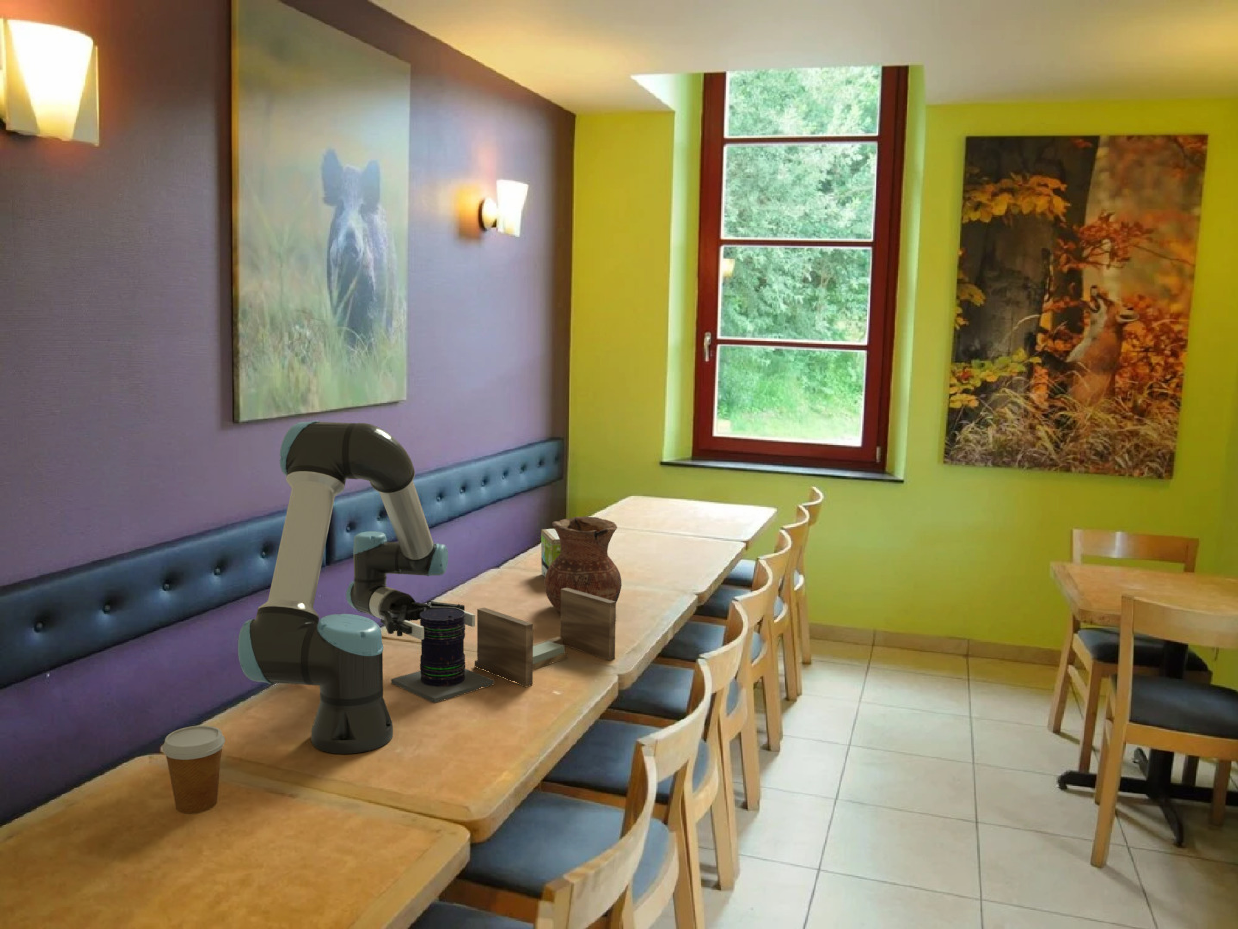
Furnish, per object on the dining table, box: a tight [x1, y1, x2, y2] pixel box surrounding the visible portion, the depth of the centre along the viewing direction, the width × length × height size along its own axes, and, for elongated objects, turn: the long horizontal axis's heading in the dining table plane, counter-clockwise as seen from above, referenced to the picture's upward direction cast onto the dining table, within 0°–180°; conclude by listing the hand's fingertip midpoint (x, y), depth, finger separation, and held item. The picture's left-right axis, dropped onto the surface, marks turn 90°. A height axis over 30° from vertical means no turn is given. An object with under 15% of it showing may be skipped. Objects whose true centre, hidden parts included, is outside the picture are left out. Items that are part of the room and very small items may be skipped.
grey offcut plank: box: [533, 641, 566, 664], centre depth 244 cm, size 11×5×2 cm, turn 141°
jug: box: [543, 516, 622, 613], centre depth 284 cm, size 22×21×25 cm
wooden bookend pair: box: [474, 588, 617, 687], centre depth 242 cm, size 28×18×14 cm, turn 136°
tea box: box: [540, 528, 561, 577], centre depth 319 cm, size 15×10×15 cm, turn 17°
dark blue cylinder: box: [419, 608, 466, 687], centre depth 227 cm, size 10×10×15 cm
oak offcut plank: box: [533, 651, 568, 670], centre depth 245 cm, size 12×6×2 cm, turn 138°
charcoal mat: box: [390, 668, 495, 704], centre depth 228 cm, size 16×16×1 cm
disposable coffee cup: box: [161, 725, 226, 815], centre depth 170 cm, size 10×10×12 cm
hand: (448, 627), depth 225 cm, fingers open, 13 cm apart
